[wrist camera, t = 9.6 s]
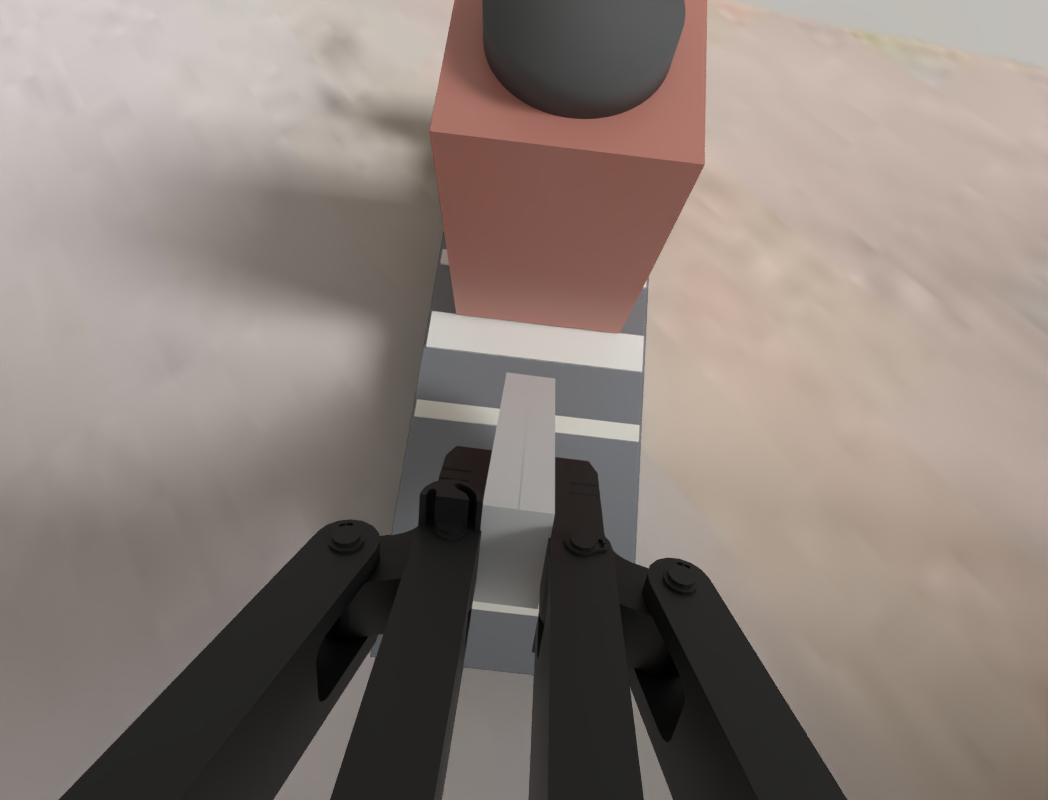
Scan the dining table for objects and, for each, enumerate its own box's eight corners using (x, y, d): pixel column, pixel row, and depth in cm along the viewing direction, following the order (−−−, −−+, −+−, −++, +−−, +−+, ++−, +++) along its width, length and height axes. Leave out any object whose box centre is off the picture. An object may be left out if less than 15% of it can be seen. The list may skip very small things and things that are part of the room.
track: (616, 675, 20) (656, 706, 15) (382, 649, 20) (344, 672, 15) (644, 147, 26) (679, 47, 21) (469, 126, 26) (463, 20, 21)
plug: (619, 333, 21) (721, 130, 12) (456, 314, 21) (424, 93, 12) (628, 195, 23) (722, -79, 13) (477, 176, 23) (465, -111, 13)
